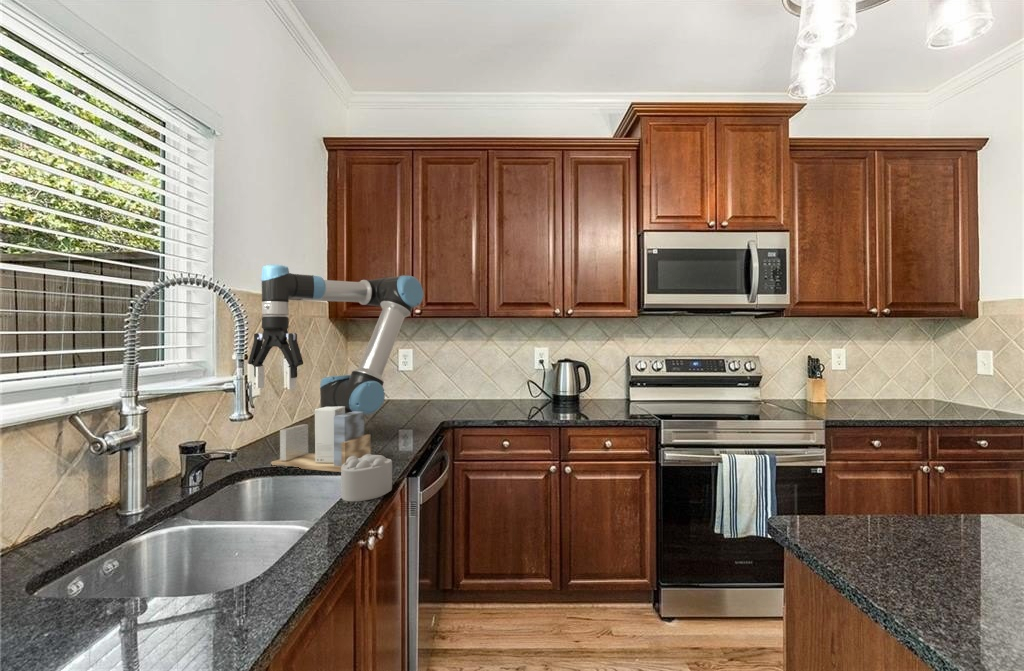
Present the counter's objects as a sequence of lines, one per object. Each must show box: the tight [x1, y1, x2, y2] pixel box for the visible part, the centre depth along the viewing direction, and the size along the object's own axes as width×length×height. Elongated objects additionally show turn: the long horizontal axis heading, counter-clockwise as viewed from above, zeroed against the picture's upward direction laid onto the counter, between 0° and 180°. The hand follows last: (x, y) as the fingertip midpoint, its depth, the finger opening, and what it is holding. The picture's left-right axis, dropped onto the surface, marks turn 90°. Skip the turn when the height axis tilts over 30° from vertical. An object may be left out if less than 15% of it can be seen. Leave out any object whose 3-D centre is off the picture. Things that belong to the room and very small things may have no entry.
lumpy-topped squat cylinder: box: [340, 454, 393, 502], centre depth 128 cm, size 10×13×9 cm
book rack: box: [270, 411, 372, 473], centre depth 156 cm, size 13×25×15 cm, turn 73°
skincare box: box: [314, 406, 345, 463], centre depth 156 cm, size 8×7×16 cm
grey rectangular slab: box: [279, 423, 309, 461], centre depth 159 cm, size 10×2×9 cm, turn 164°
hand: (275, 388), depth 161 cm, fingers open, 11 cm apart
